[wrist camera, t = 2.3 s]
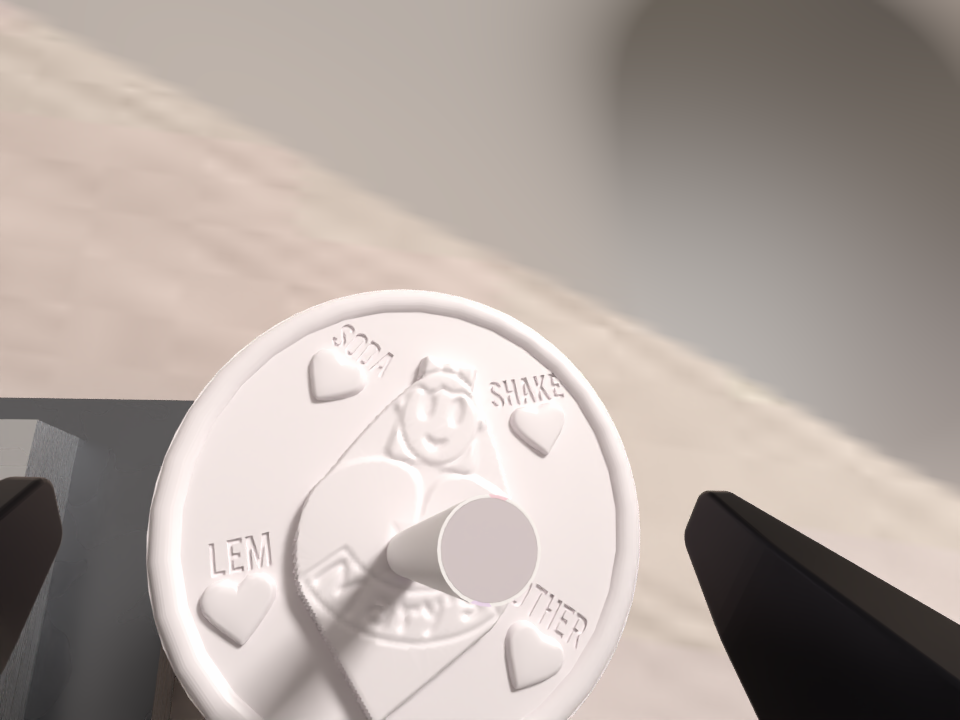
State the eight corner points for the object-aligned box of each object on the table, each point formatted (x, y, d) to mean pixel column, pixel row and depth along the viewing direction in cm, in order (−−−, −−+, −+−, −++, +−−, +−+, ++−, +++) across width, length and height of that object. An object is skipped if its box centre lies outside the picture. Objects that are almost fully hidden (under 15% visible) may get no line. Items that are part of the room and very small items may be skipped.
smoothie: (228, 637, 14) (-861, 1372, 1) (300, 404, 17) (134, -111, 4) (466, 676, 15) (1110, 1339, 2) (503, 450, 18) (925, 160, 5)
